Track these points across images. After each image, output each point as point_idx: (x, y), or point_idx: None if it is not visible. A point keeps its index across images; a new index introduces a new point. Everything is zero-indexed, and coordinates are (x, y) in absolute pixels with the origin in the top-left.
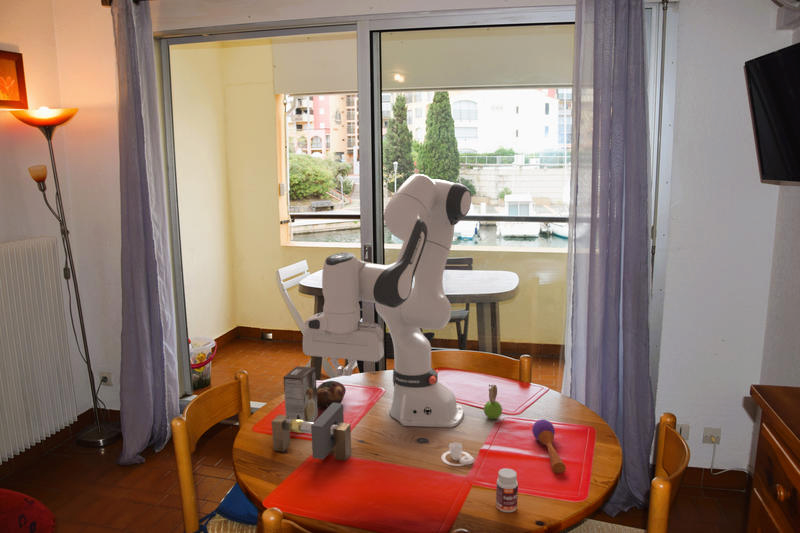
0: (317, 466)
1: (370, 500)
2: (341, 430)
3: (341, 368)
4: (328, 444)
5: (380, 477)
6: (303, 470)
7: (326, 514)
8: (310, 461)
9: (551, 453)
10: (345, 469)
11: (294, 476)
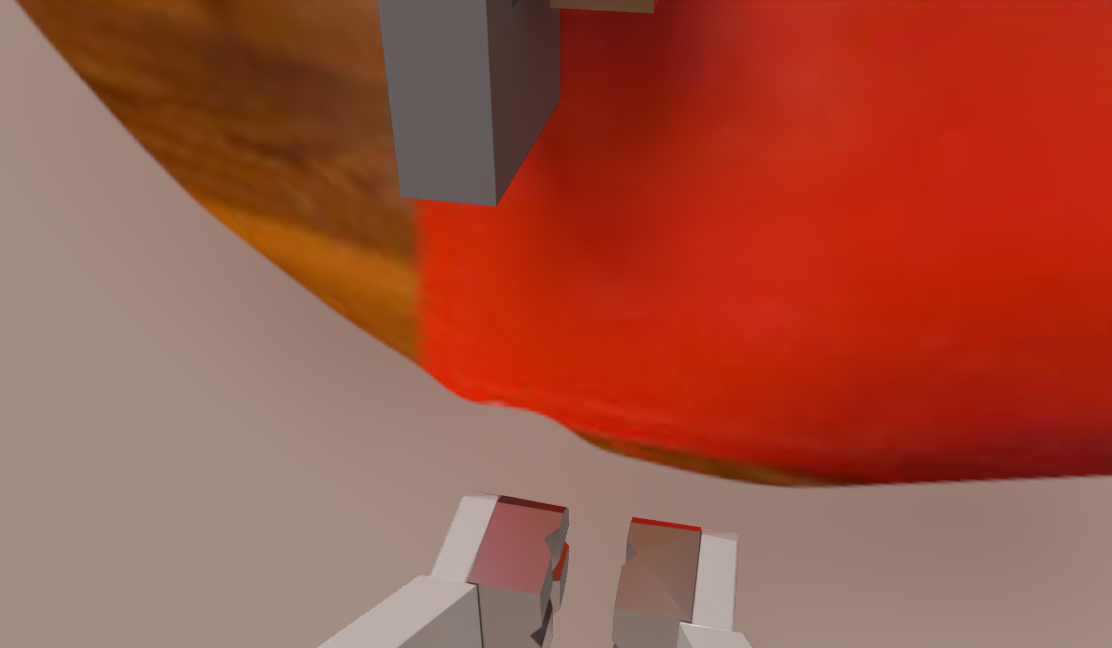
0: None
1: (931, 324)
2: (620, 9)
3: (545, 645)
4: (544, 26)
5: (972, 106)
6: None
7: (732, 429)
8: None
9: None
10: (712, 58)
11: None
